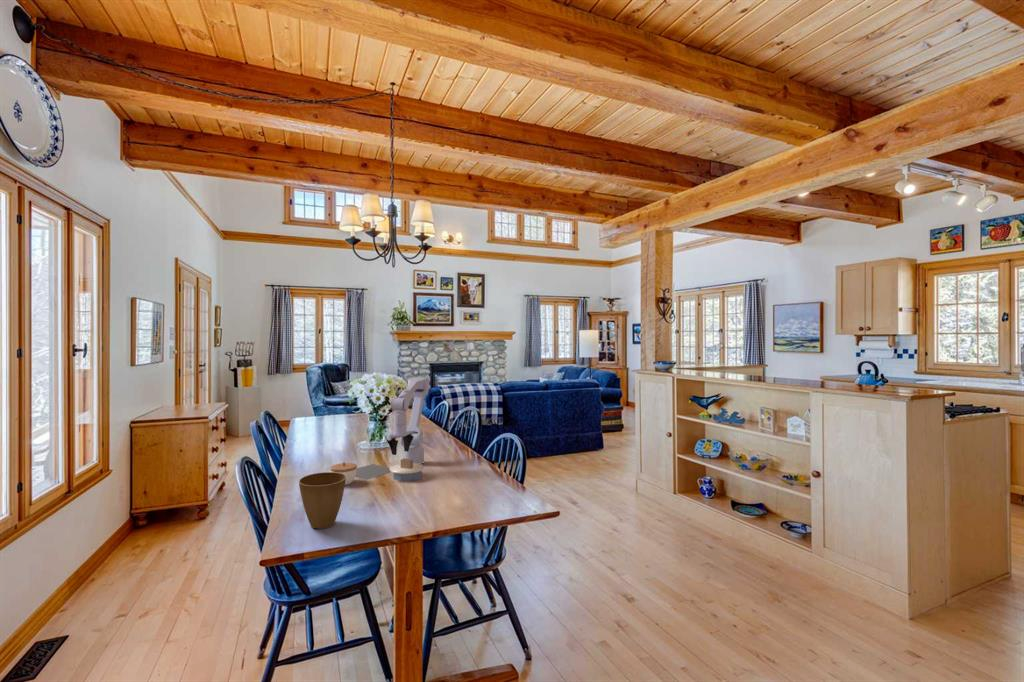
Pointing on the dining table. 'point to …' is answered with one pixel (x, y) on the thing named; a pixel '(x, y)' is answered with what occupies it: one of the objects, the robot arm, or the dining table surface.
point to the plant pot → (322, 497)
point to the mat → (371, 471)
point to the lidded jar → (346, 471)
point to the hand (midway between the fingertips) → (400, 452)
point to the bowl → (408, 476)
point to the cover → (406, 467)
